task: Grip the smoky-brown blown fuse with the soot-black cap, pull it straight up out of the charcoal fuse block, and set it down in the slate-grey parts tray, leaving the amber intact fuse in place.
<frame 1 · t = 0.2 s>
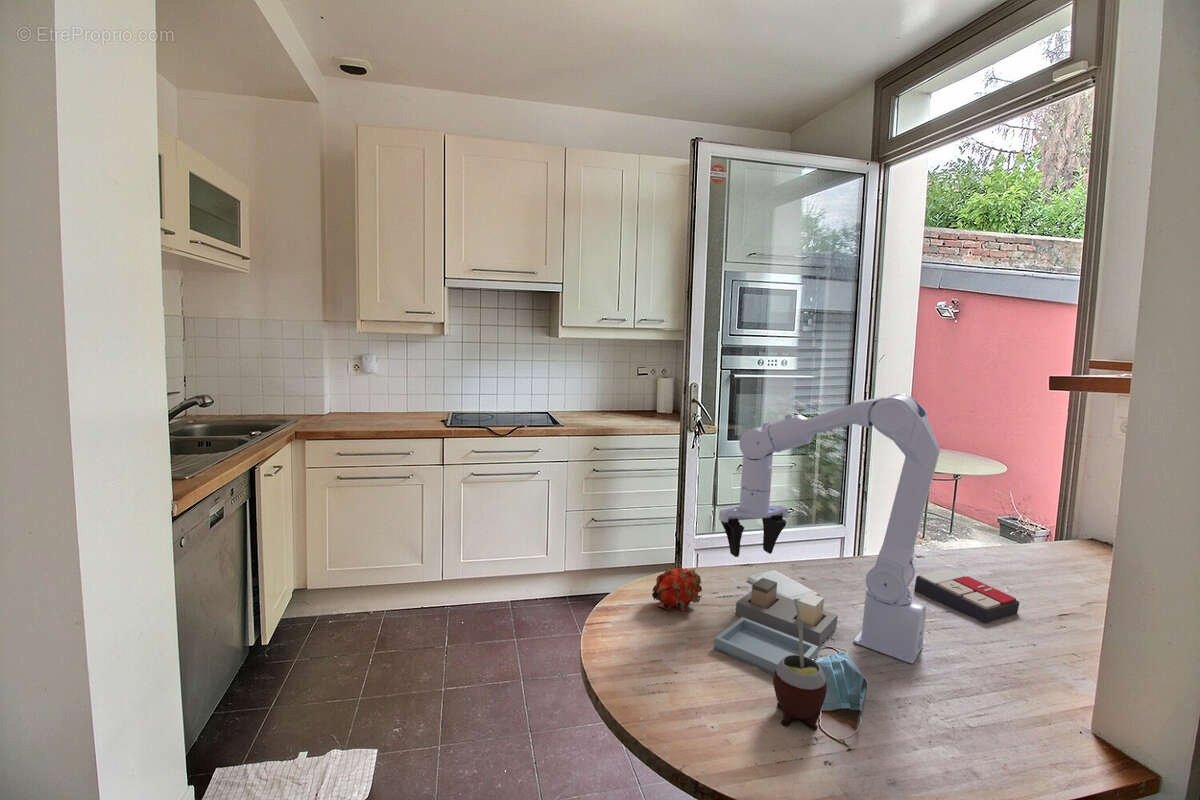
hand: (751, 553, 115), 10 cm above the table, tool pointing down, fingers open, 7 cm apart
fuse block: (785, 621, 108), on the table
mate gourd: (794, 716, 82), on the table
parts tray: (765, 653, 97), on the table
dragon fruit: (675, 607, 112), on the table
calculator: (963, 604, 119), on the table
blown fuse: (762, 613, 111), resting in fuse block
hard drive: (782, 592, 122), on the table
intact fuse: (808, 630, 105), resting in fuse block
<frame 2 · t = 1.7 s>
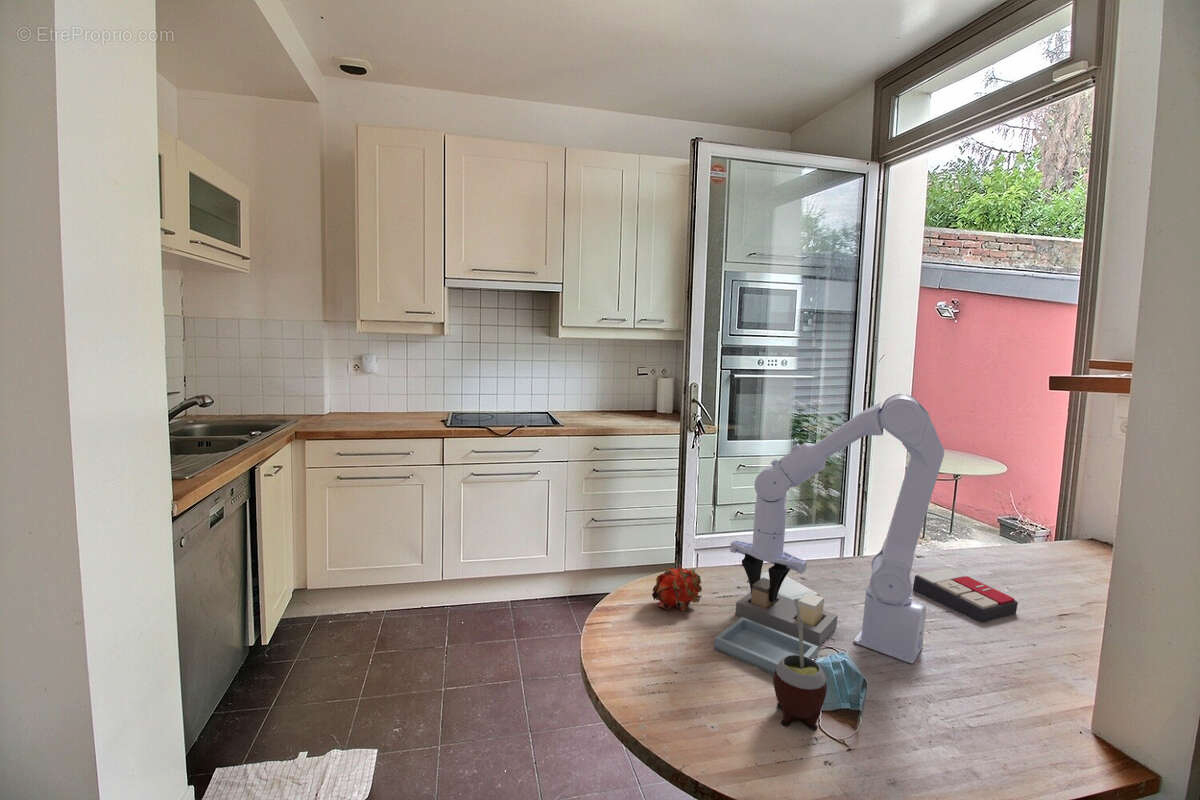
hand: (763, 597, 111), 3 cm above the table, tool pointing down, fingers closed on blown fuse, 3 cm apart
blown fuse: (762, 612, 111), resting in fuse block, touching gripper
everything else where it was.
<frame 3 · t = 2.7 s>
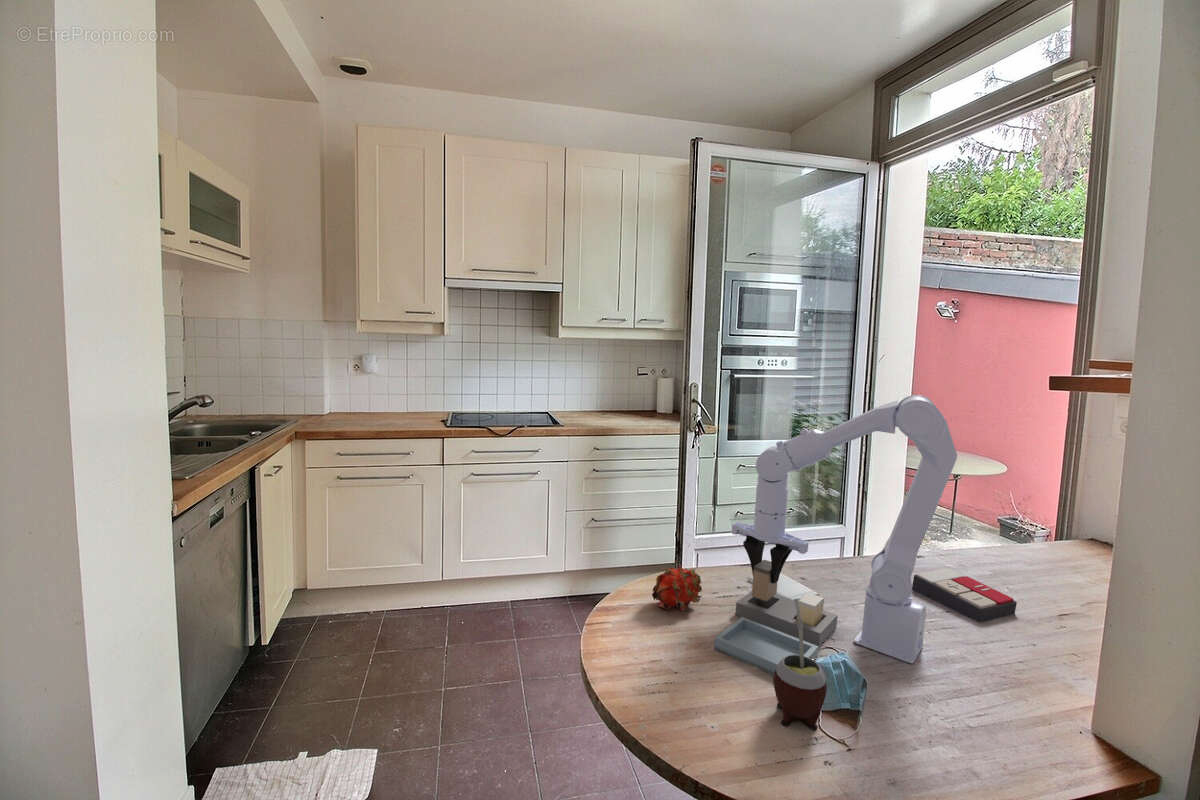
hand: (765, 578, 110), 7 cm above the table, tool pointing down, fingers closed on blown fuse, 3 cm apart
blown fuse: (764, 594, 111), point 4 cm above the table, touching gripper
everything else where it was.
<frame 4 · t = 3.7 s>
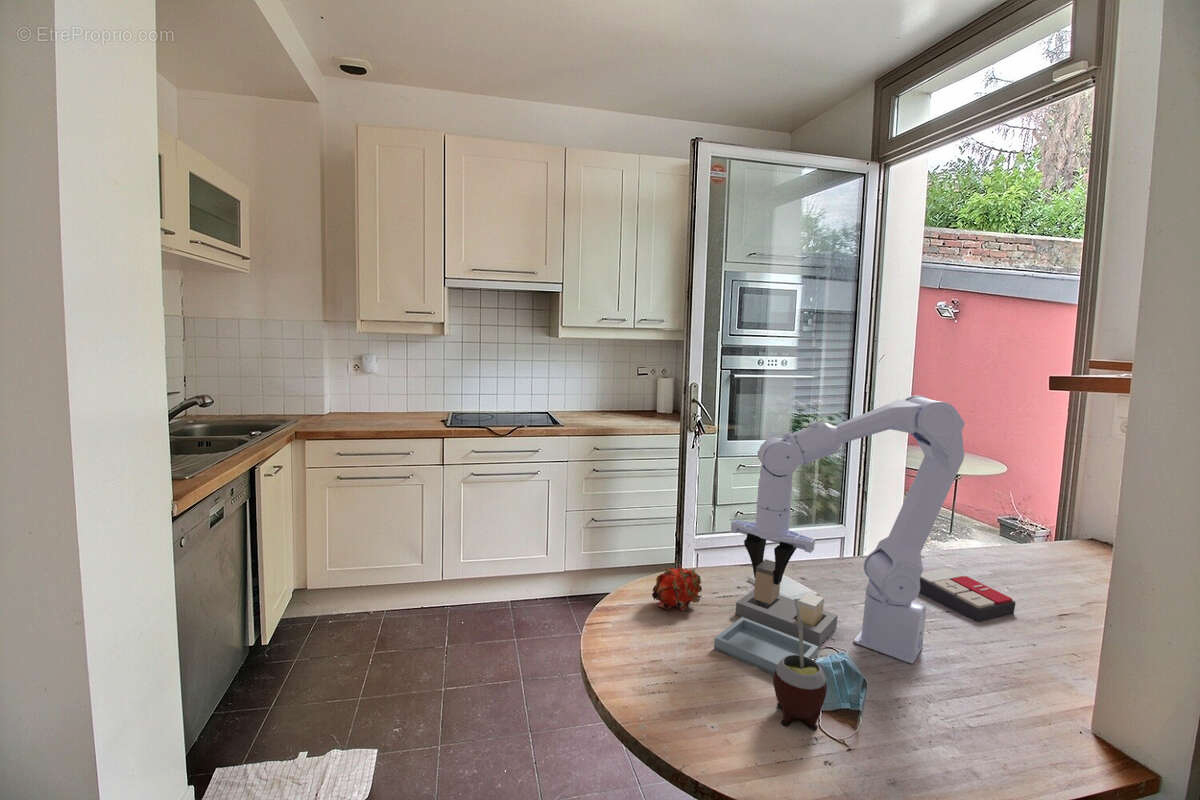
hand: (767, 579, 103), 10 cm above the table, tool pointing down, fingers closed on blown fuse, 3 cm apart
blown fuse: (766, 596, 103), point 7 cm above the table, touching gripper
everything else where it was.
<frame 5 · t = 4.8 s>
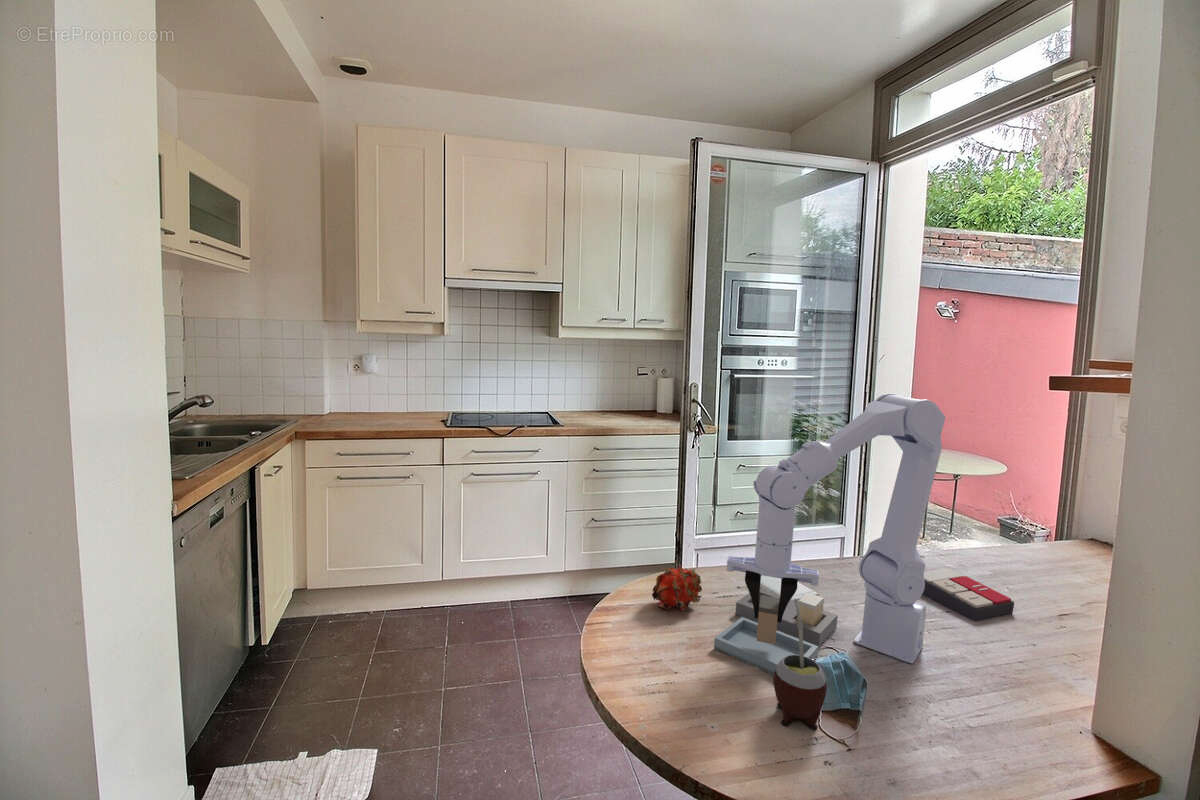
hand: (767, 617, 96), 6 cm above the table, tool pointing down, fingers closed on blown fuse, 3 cm apart
blown fuse: (766, 635, 97), point 3 cm above the table, touching gripper
everything else where it was.
when the fingers open (6 cm above the table, at t = 5.6 s): blown fuse drops 2 cm, resting on parts tray.
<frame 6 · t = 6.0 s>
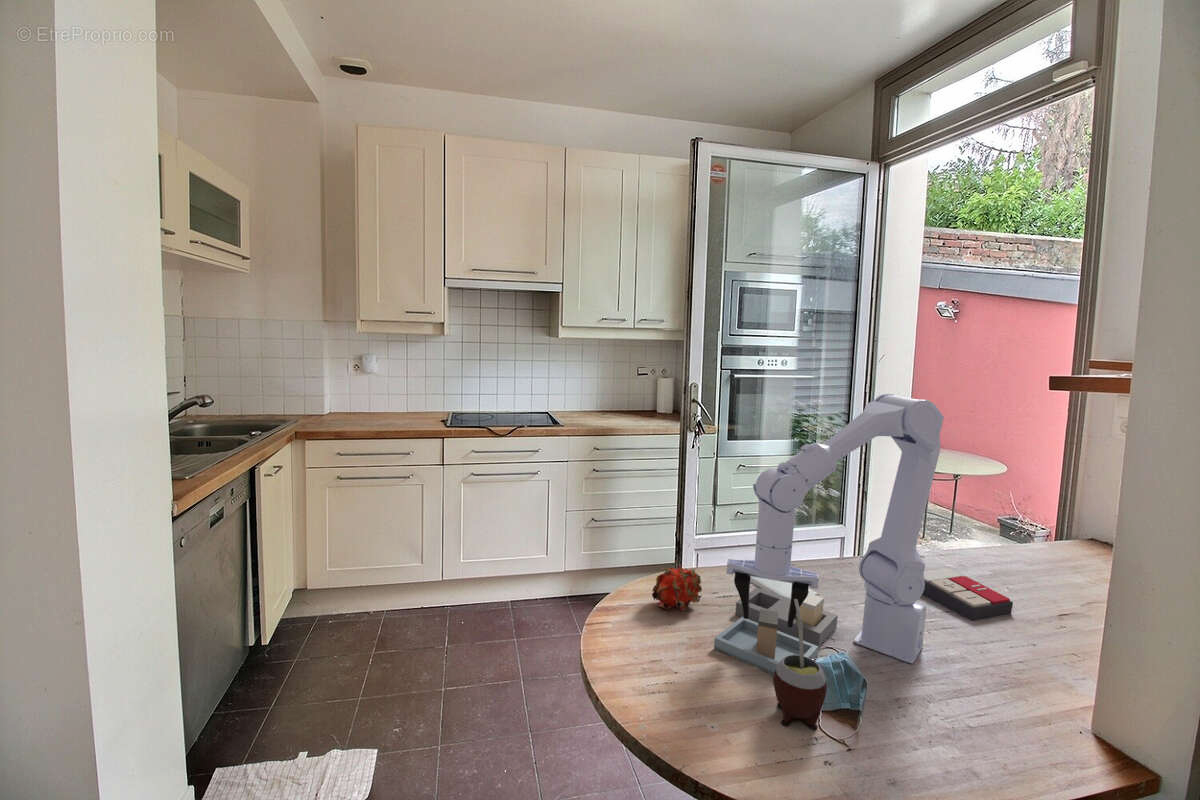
hand: (767, 620, 96), 6 cm above the table, tool pointing down, fingers open, 6 cm apart
blown fuse: (765, 649, 97), resting on parts tray
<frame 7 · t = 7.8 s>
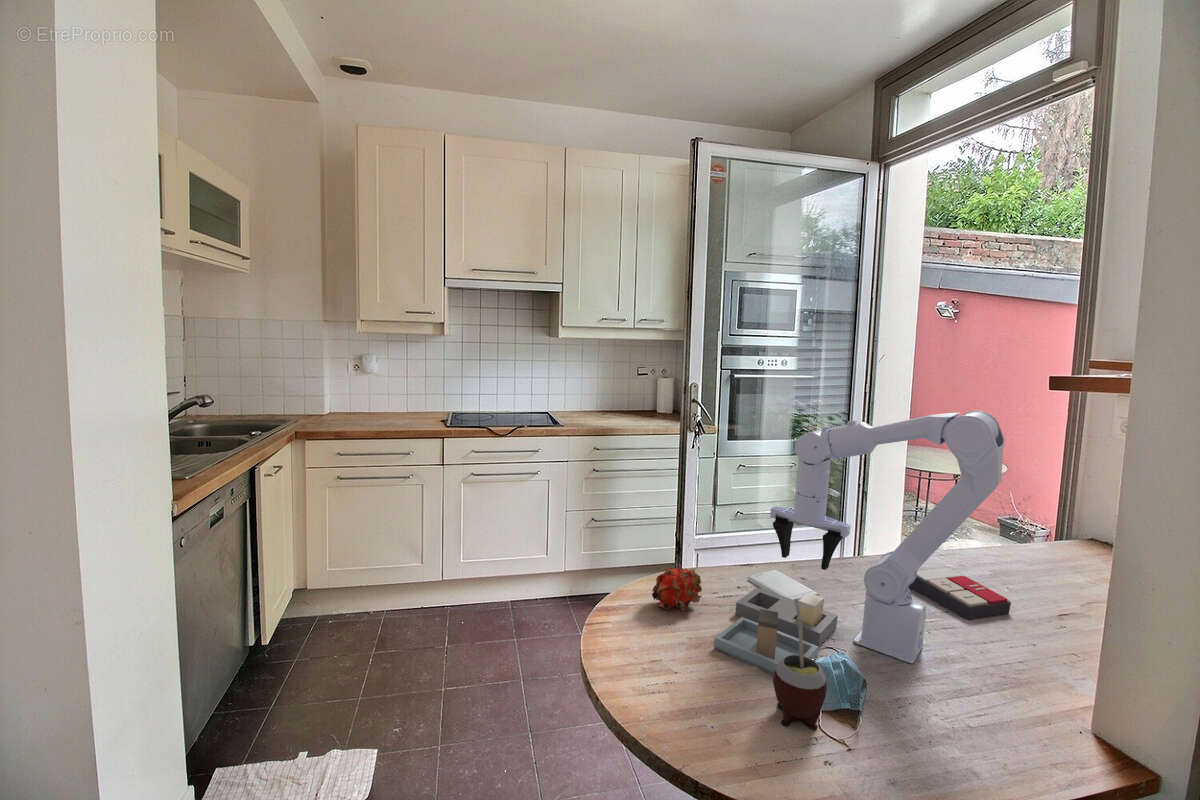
hand: (804, 562, 110), 10 cm above the table, tool pointing down, fingers open, 7 cm apart
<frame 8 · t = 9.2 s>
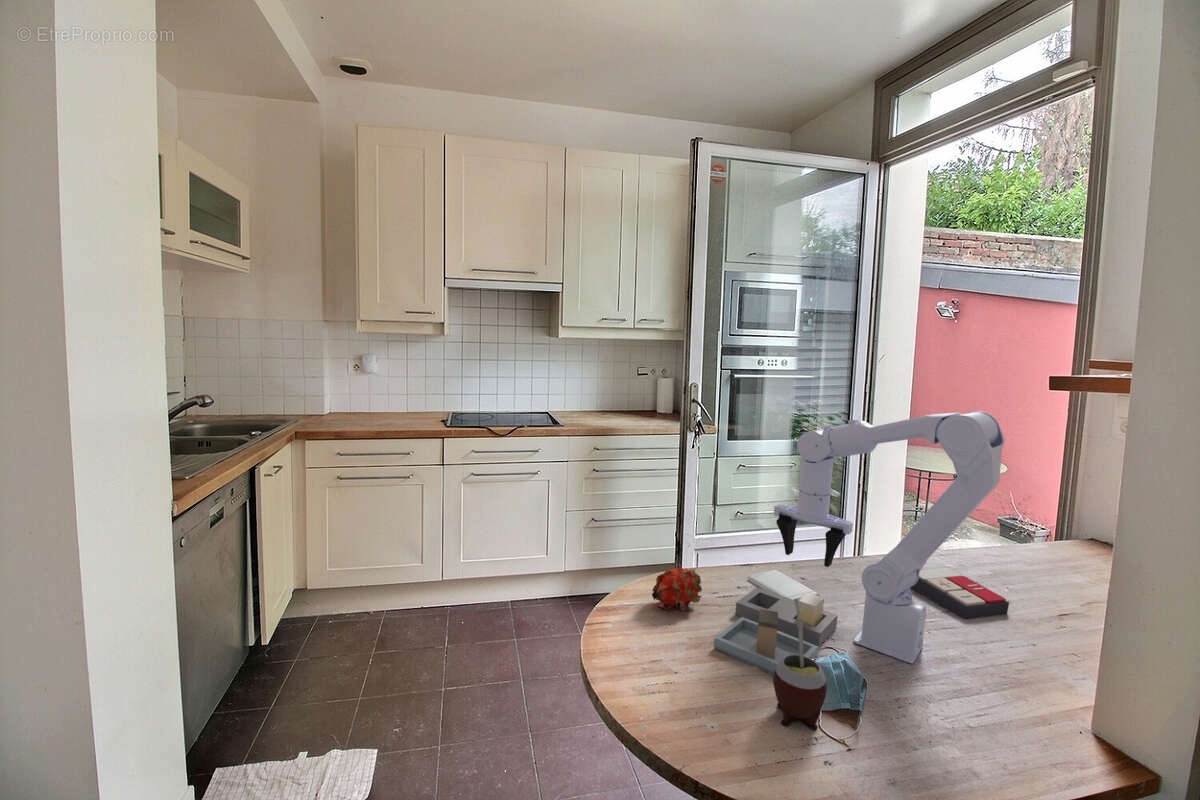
hand: (808, 559, 112), 10 cm above the table, tool pointing down, fingers open, 7 cm apart
at the end: blown fuse inside the target area on the parts tray (0.2 cm from its centre), point 0.5 cm above the parts tray's base; the gripper is holding nothing; intact fuse moved 0.1 cm from its start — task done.
